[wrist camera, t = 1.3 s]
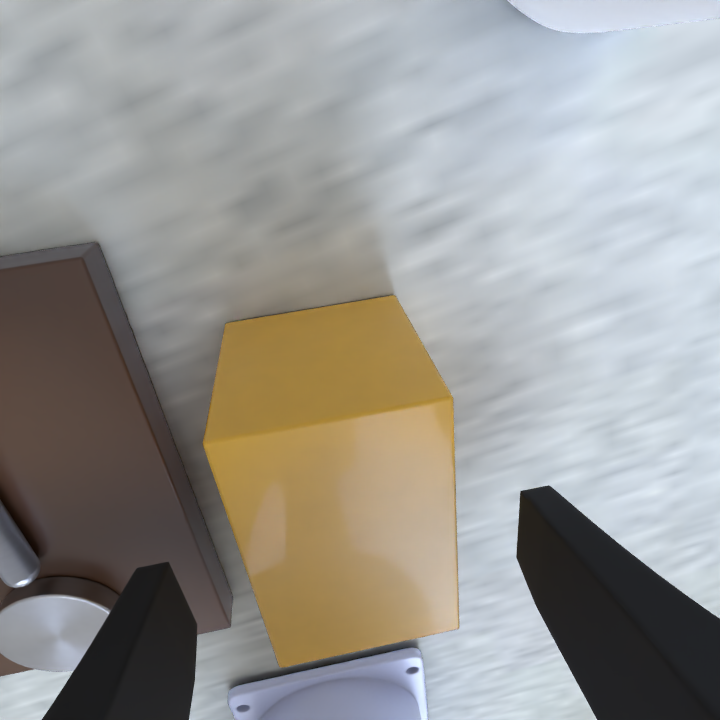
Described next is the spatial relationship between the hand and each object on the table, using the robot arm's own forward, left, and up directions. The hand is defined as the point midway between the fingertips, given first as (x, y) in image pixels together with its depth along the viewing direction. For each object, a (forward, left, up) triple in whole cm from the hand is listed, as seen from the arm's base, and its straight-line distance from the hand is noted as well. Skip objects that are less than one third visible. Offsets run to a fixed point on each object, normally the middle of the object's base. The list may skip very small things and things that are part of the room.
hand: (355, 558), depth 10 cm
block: (0, 0, -5) cm, 5 cm away
